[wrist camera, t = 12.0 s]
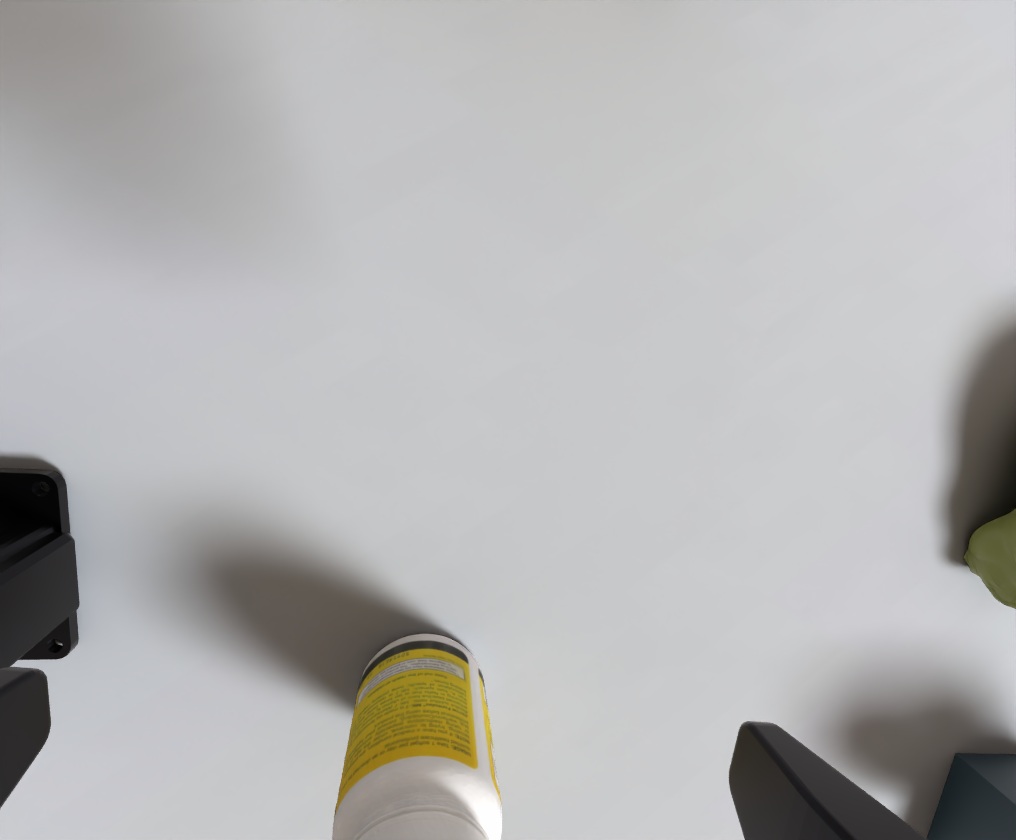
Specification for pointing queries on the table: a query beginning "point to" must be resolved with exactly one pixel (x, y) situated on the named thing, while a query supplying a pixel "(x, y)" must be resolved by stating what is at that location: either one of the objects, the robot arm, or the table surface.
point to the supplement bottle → (420, 748)
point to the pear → (995, 557)
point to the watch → (978, 799)
